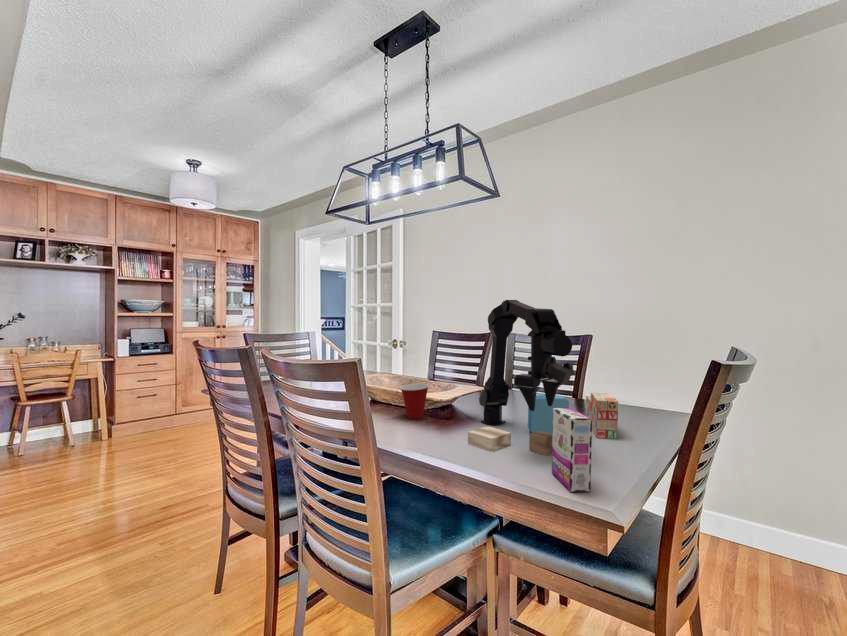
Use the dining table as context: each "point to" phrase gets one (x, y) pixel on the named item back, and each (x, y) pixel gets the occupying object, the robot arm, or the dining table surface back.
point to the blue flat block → (544, 413)
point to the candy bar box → (572, 449)
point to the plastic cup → (414, 399)
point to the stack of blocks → (603, 415)
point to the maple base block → (489, 438)
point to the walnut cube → (540, 443)
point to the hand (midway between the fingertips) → (541, 408)
